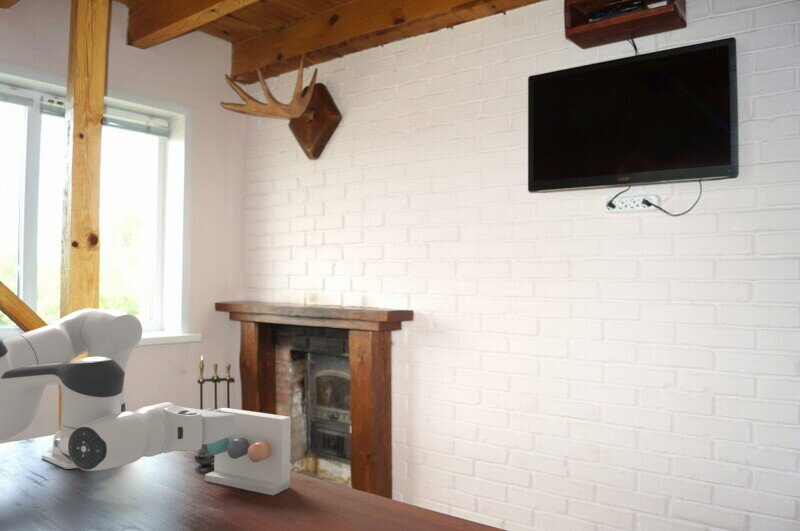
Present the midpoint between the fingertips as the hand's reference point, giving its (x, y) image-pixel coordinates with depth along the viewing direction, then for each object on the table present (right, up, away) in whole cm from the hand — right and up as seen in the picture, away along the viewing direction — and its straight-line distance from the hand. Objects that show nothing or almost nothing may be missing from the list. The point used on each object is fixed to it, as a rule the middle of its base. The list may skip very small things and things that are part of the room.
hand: (216, 413), depth 127 cm
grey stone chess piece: (-11, -21, +29) cm, 38 cm away
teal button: (-5, -13, +18) cm, 23 cm away
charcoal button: (+1, -13, +15) cm, 20 cm away
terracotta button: (+6, -13, +12) cm, 19 cm away
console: (+2, -20, +17) cm, 27 cm away
